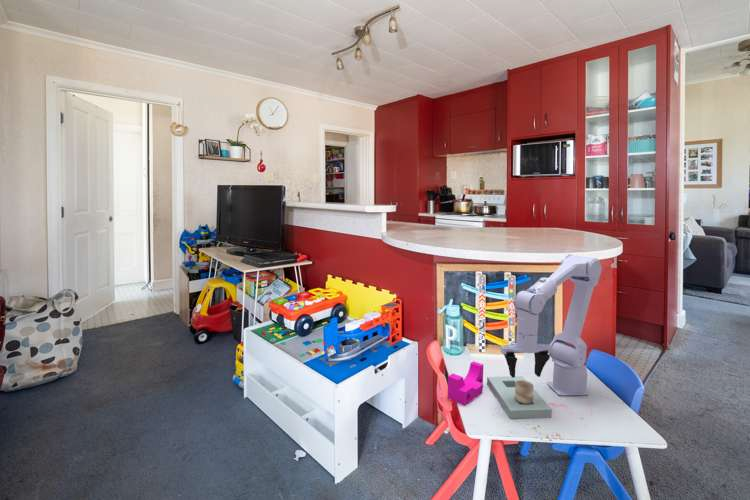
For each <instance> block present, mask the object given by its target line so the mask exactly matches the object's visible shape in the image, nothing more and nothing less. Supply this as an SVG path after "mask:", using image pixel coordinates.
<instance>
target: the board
mask: <svg viewBox="0 0 750 500" xmlns="http://www.w3.org/2000/svg"><path fill="white" fill-rule="evenodd" d="M520 380H523V381H527V380H526V379H525V377H524V376H522V375H515V378H512V377H511V375H508V376H487V377H486V385H487V386H488V388H489V389H490V390H491V392H492V394H493V395H494V397H495V398H496V399H497V401H498V402H499V404H500V405H501V407H502V408H503V410H504V412H505V413H506V414H507V416H508V417H509V419H512V420H513V419H542V418H547V419H548V418H552V414H553V410H552V409H553V408H551V407H550V405H549V404H548V403H547V402H546V400H544V398H543V397H542V396H541V395H540V394H539V393H538V392H537V391H536V390H535V388H534V389H533V403H532V404H530V405H524V404H522V405H520V404H519V403H518V402H517V401H516V400H515V385H516V382H517V381H520Z"/></svg>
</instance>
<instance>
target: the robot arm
mask: <svg viewBox="0 0 750 500" xmlns="http://www.w3.org/2000/svg"><path fill="white" fill-rule="evenodd" d="M602 269H603V267H602V265H601V261H600V260H599V259H598V258H596V257H587V256H581V255H580V256H578V255H573V254H567V255H565V256H564V257H563V258H562V259H561V261H560V266H559V267H558V268H556V270H554V272H553V273H552V274H550V276H549V277H541V278H539V280H537V281H536V282H534V284H533V285H531V286H530V287H529V288H528V289H526V290H521V291H519V292H517V293H516V294H515V296H514V300H513V302H512V303H513V306H514V308H515V314H516V316H517V317H516V318H517V319H516V338H515V343H511V344H507V345H506V344H505V345H500V352H501V354H502V355H503V356H504V358H505V360H506V364H507V367H508V370H509V371H508V373H509V376H511V377H512V378H515V376H516V366H517V362H518V358H517V356H516V354H534V374H535V376H537V378H540V377H541V375H542V372H543V369H544V368H545V366H546V364H547V362H548V361H549V360H550V358H551V362H553V371H552V372H553V373H552V381H548V382H547V385H548V386H549V387H550V389H552V390H553V391H554V392H555V393H556V395H558V396H559V397H561V396H562V397H563V396H564V397H565V396H566V397H567V396H587V395H588V392H587V389H588V388H587V386H588V370H587V367H586V366H585V363H586V360H587V349H588V345H587V344H586V343H585V341H584V340H583V339H582V337H581V336H582V332H583V328H584V324H585V322H586V317H587V314H588V310H589V305H590V302H591V299H592V296H593V292H594V287H596V286H598V285H599V281H600V279H601V278H600V277H601V274H602ZM568 280H570V281H572V283H573V285H574V290H573V292H572V293H573V294H572V297H571V300H570V304H569V307H568V311H567V316H566V319H565V322H564V326H563V330H562V332H560V333H558V334H555V335H554V336H553V339H552V340H551V342H550V344H549V343H548V344H546V343H544V344H543V343H538V335H539V334H538V332H539V331H538V330H539V314H540V313H542V311H543V309H544V307H545V305H546V304H547V301H548V300H549V299H550V298H552V297H553V296H554V295H555V294H556V293H557V291H558V286H560V285H561V284H564V282H566V281H568Z"/></svg>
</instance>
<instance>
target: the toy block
mask: <svg viewBox="0 0 750 500" xmlns="http://www.w3.org/2000/svg"><path fill="white" fill-rule="evenodd" d="M483 387H484V364H483V363H480V362H477V361H474V360H473V361H472V362H470V363H469V369H468V372H467V374H466V376H465V377H463V376H461V375H458V374H456V373H451V374H449V375H448V376H447V399H449V400H451V401H454V402H456V403H458V404H460V405H463V406H466V405H468V404H470V403H471V402H472V401H473V400H475V399H476V398H478V397H479V396H480V395H482V394H483Z"/></svg>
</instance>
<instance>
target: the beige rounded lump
mask: <svg viewBox="0 0 750 500" xmlns="http://www.w3.org/2000/svg"><path fill="white" fill-rule="evenodd" d="M534 387H535V386H534V384H533V382H531V381H528V380H526V381H523V380H520V381H517V382H516V385H515V400H516V401H517V402H518V403H519V404H520V405H522V404H524V405H530V404H532V403H533V389H534V390H535V388H534Z"/></svg>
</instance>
